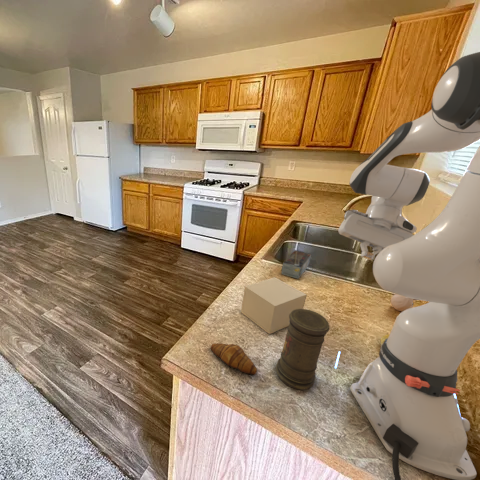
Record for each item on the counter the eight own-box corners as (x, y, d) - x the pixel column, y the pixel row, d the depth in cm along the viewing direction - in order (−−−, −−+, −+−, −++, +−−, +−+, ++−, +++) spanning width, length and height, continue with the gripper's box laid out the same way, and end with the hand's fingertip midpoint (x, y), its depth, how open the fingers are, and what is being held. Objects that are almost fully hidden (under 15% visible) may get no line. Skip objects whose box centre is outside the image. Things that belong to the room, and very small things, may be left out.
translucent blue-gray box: (279, 274, 120) (282, 261, 118) (292, 260, 134) (294, 248, 132) (298, 279, 116) (301, 266, 113) (309, 265, 129) (312, 253, 127)
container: (317, 374, 69) (335, 318, 63) (308, 397, 63) (326, 337, 56) (282, 356, 75) (295, 302, 68) (270, 376, 68) (283, 319, 62)
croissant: (261, 368, 71) (264, 353, 69) (250, 384, 66) (253, 369, 64) (217, 343, 79) (218, 329, 77) (204, 355, 75) (206, 341, 73)
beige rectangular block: (270, 301, 100) (274, 277, 96) (299, 321, 89) (306, 294, 86) (240, 312, 94) (244, 286, 90) (269, 334, 83) (275, 306, 79)
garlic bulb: (415, 313, 94) (423, 294, 91) (400, 315, 93) (409, 296, 90) (396, 302, 100) (403, 284, 97) (382, 304, 99) (389, 286, 96)
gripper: (353, 204, 84) (338, 242, 82) (423, 229, 80) (409, 270, 78) (342, 210, 90) (328, 246, 88) (406, 234, 86) (393, 272, 84)
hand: (366, 258), depth 83 cm, fingers closed
